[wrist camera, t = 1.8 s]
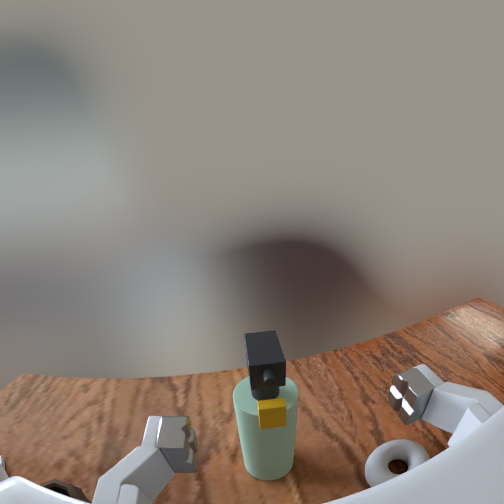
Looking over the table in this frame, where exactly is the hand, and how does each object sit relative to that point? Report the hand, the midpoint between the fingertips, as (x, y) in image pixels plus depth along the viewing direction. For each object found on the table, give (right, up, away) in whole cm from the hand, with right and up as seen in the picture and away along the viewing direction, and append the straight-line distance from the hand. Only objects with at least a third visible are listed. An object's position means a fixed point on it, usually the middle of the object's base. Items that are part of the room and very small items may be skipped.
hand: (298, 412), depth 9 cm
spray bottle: (+1, -25, +22) cm, 33 cm away
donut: (+18, -25, +15) cm, 35 cm away
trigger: (0, -10, +13) cm, 16 cm away
